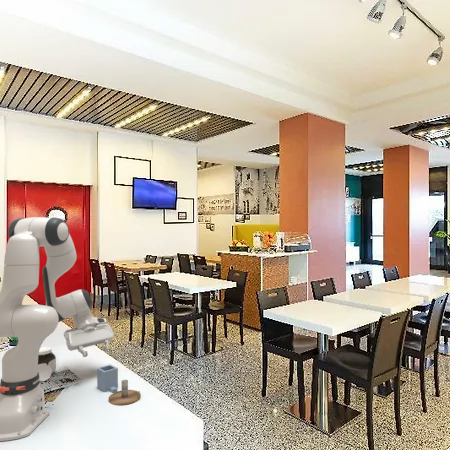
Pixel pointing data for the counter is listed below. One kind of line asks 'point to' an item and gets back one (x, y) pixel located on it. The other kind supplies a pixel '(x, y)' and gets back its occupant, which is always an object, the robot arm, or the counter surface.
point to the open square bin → (107, 378)
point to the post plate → (123, 400)
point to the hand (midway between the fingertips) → (96, 353)
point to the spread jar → (46, 363)
